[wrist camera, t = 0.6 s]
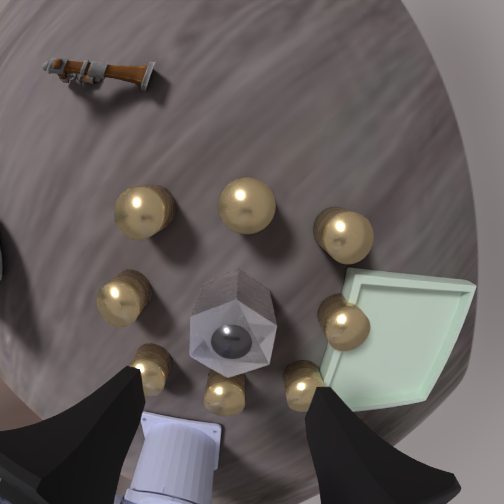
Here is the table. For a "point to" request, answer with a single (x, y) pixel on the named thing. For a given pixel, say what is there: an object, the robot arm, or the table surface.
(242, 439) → the table surface
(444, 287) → the tray
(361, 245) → the set of brass balls
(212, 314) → the steel nut
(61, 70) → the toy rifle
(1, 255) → the air freshener
